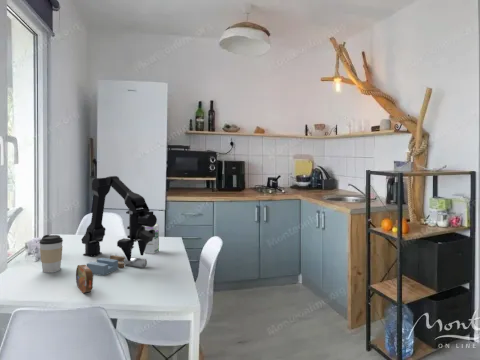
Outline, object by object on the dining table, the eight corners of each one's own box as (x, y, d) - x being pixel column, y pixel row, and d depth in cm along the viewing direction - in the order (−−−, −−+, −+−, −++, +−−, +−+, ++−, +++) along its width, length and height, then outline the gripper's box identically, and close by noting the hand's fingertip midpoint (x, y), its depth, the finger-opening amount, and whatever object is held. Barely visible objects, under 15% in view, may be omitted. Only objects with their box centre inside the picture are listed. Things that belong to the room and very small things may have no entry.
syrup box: (154, 254, 176) (154, 226, 175) (143, 253, 177) (143, 225, 176) (159, 251, 182) (159, 224, 181) (148, 250, 183) (148, 223, 182)
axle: (122, 265, 156) (124, 256, 157) (128, 265, 160) (129, 256, 161) (141, 268, 153) (142, 259, 154) (146, 267, 157) (147, 259, 157)
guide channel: (98, 264, 158) (98, 260, 157) (112, 259, 166) (112, 255, 166) (122, 268, 153) (122, 263, 153) (134, 262, 162) (134, 258, 162)
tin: (75, 283, 134) (75, 262, 134) (83, 281, 136) (83, 261, 136) (85, 296, 123) (85, 273, 122) (94, 294, 124) (94, 271, 124)
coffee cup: (68, 268, 152) (67, 234, 151) (50, 274, 143) (50, 239, 142) (52, 265, 155) (52, 232, 154) (34, 271, 146) (33, 237, 145)
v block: (86, 272, 147) (86, 263, 146) (101, 266, 155) (101, 257, 155) (103, 275, 144) (103, 266, 143) (118, 269, 152) (118, 260, 152)
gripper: (138, 230, 143) (137, 266, 144) (162, 222, 161) (162, 254, 162) (116, 227, 147) (116, 262, 148) (142, 220, 165) (142, 252, 166)
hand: (135, 258), depth 156 cm, fingers open, 9 cm apart
